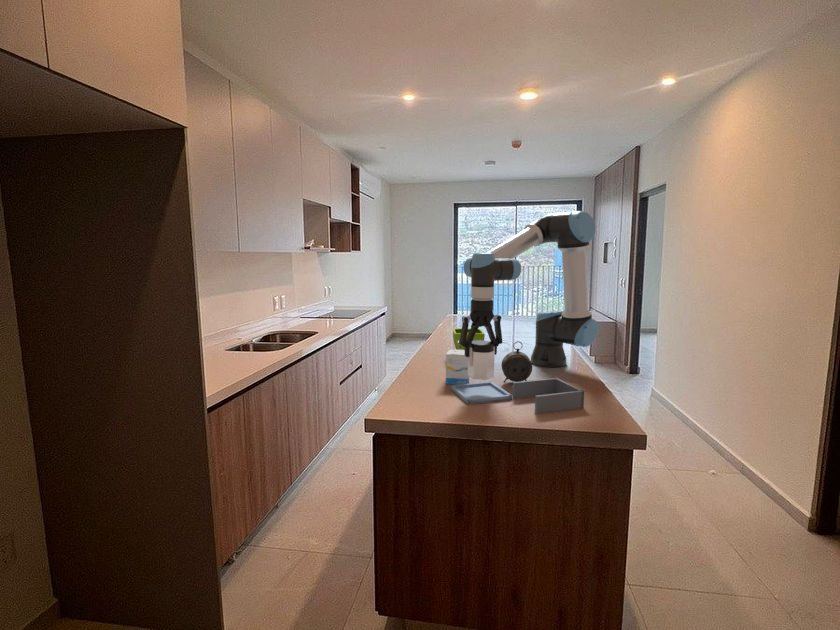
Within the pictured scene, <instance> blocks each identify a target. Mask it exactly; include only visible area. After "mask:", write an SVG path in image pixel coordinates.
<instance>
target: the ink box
mask: <svg viewBox="0 0 840 630" xmlns="http://www.w3.org/2000/svg"><path fill="white" fill-rule="evenodd" d="M445 356H446V357H445V385H460V384H470V383H469V382H470V377H469V376H468V365H467V357H466V356H465V350H457V349H456V348H455V349H448V351H447V352H446V353H445Z"/></svg>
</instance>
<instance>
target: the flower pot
mask: <svg viewBox="0 0 840 630" xmlns="http://www.w3.org/2000/svg"><path fill="white" fill-rule="evenodd" d="M470 329H471V328H468V332H467V336H468V334H469V331H470ZM461 330H462V327H461V328H459V327H458V328H452V337H453V343H454V344H453V345H454V348H455V349H457V350H465V347H464V346H462V345H460V344H459V342H460V336H461ZM485 336H486V334H485V332H484V331H483V329H481V328H478V329H477V331H476V333H475V336H474V338H473V341H475V340H484V341H485ZM466 339H467V338H466Z"/></svg>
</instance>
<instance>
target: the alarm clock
mask: <svg viewBox="0 0 840 630" xmlns="http://www.w3.org/2000/svg"><path fill="white" fill-rule="evenodd" d="M517 343H520V344H521V346H520V348H516V347H515V345H516V344H517ZM523 346H524V345H523V343H522V342H521V341H515V342H514V343H513V345H512V347H513V349H514V350H515V351H511V352H509V353H507V354H506V355H505V356H504V357H503V358H502V361H501V369H502V372H503V373H502V374H503V375H504V376H505V379H504V380H503V383H506V382H507V380H509V381H511V382H521V381H528V380H527V379H528V378H529V377H530V376H531V374H532V372H533V363H531V358H529V356H528V355H527V354H526V353H524V352H523V351H520V350H521V349H522V348H523Z"/></svg>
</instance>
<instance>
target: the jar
mask: <svg viewBox="0 0 840 630" xmlns="http://www.w3.org/2000/svg"><path fill="white" fill-rule="evenodd" d="M470 347H471V348H472V367H469V366H468V376H469V378H471V379H472V380H481V381H487V380H490V379H493V378H494V374H495V358H494V357H496V355H495V351H494V343H493V342H491V341H490V340H485V339H484V340H475V341H472V343H471V346H470Z"/></svg>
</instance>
